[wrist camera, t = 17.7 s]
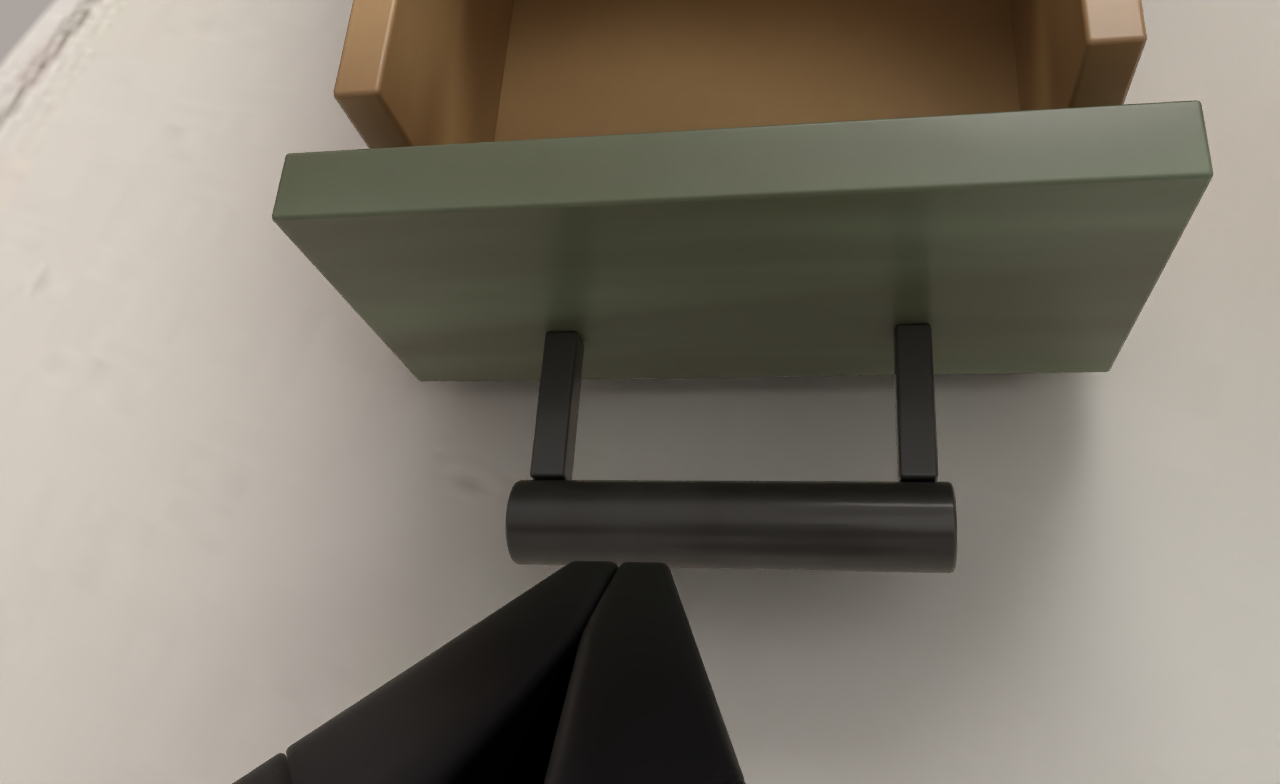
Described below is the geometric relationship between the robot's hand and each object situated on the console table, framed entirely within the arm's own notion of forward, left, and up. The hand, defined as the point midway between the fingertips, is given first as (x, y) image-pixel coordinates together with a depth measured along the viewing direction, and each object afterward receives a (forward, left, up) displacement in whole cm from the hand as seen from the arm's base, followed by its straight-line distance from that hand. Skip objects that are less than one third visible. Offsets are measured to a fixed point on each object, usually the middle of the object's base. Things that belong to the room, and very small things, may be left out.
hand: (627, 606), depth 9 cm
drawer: (+9, +7, -9) cm, 15 cm away
